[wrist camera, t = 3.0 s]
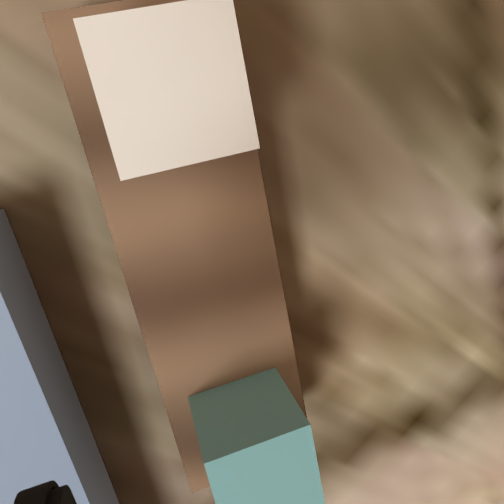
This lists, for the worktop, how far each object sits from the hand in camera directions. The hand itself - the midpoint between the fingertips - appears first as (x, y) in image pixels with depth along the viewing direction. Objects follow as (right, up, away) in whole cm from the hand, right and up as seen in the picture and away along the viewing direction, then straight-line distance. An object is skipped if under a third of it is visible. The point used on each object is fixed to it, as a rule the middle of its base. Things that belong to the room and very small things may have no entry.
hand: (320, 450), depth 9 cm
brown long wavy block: (-4, +4, +12) cm, 14 cm away
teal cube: (-2, -4, +11) cm, 12 cm away
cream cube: (-4, +9, +7) cm, 12 cm away
